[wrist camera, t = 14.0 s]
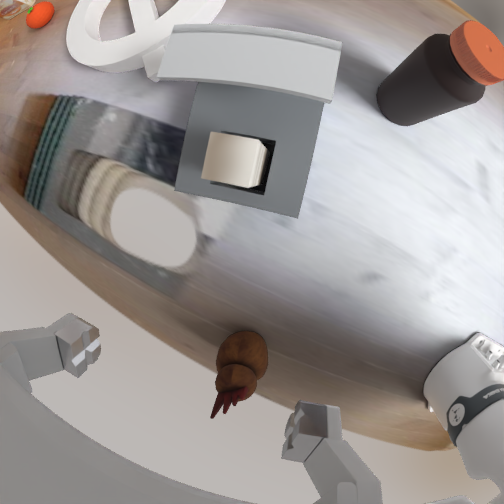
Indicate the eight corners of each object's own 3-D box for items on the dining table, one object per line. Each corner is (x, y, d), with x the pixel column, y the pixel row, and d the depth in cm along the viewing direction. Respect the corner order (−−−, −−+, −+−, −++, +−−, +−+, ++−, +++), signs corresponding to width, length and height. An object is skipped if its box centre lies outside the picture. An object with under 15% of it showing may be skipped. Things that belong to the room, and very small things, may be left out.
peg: (270, 152, 32) (258, 139, 20) (263, 183, 33) (247, 188, 22) (238, 146, 32) (210, 131, 21) (231, 177, 33) (201, 178, 22)
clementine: (35, 26, 28) (16, 19, 21) (54, 3, 26) (35, -6, 19) (44, 34, 29) (23, 27, 22) (63, 9, 27) (43, 0, 20)
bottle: (375, 73, 27) (443, -5, 8) (421, 87, 26) (509, 35, 7) (374, 119, 29) (459, 68, 10) (421, 132, 28) (524, 107, 9)
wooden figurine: (228, 356, 41) (201, 427, 26) (223, 325, 39) (190, 395, 25) (271, 356, 40) (259, 433, 25) (269, 325, 38) (255, 400, 24)
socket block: (323, 91, 29) (342, 42, 15) (296, 212, 33) (300, 236, 20) (215, 73, 30) (174, 24, 16) (189, 188, 34) (131, 198, 21)
